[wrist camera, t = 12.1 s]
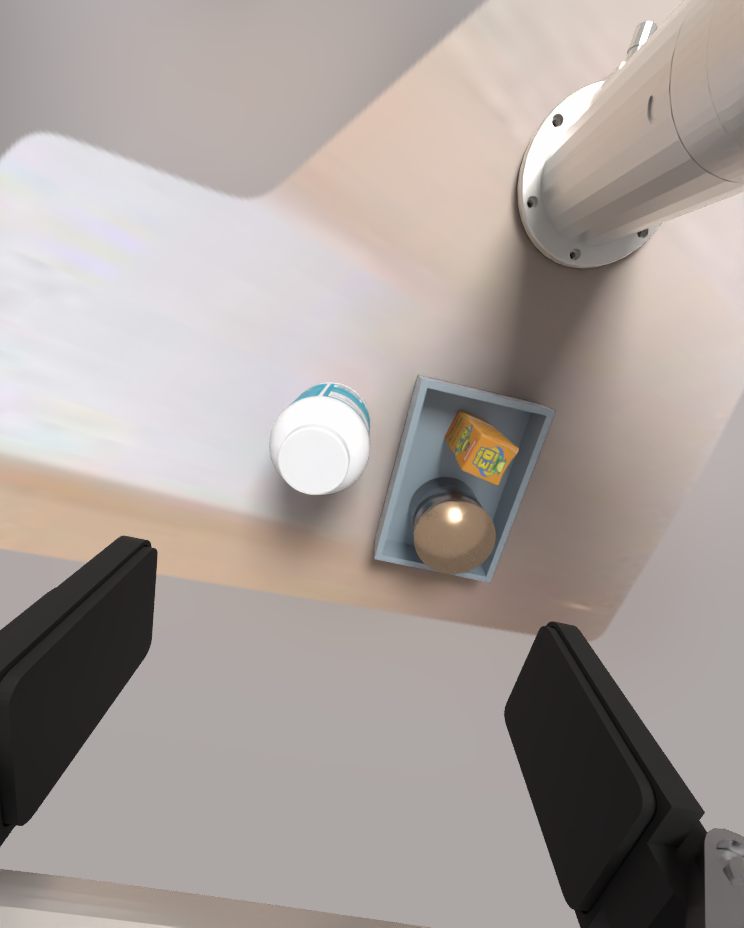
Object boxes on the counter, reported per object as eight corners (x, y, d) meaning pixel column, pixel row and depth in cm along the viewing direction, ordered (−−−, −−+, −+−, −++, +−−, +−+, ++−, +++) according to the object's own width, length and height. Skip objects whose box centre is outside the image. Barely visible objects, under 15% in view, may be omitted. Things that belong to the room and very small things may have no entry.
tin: (418, 469, 40) (426, 493, 34) (487, 484, 40) (507, 511, 34) (400, 531, 42) (405, 565, 36) (466, 545, 42) (481, 581, 36)
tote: (417, 374, 37) (422, 379, 34) (539, 403, 38) (555, 410, 35) (374, 540, 43) (374, 559, 39) (480, 562, 44) (490, 582, 40)
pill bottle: (297, 456, 40) (260, 515, 27) (291, 381, 38) (247, 407, 25) (371, 455, 40) (370, 513, 27) (370, 380, 38) (367, 404, 25)
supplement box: (456, 406, 38) (483, 431, 28) (488, 420, 38) (525, 450, 29) (440, 437, 39) (461, 471, 29) (471, 451, 39) (502, 489, 30)
